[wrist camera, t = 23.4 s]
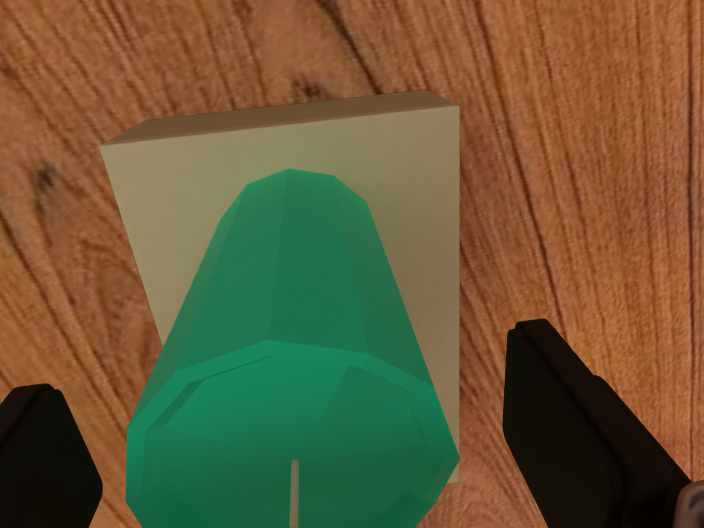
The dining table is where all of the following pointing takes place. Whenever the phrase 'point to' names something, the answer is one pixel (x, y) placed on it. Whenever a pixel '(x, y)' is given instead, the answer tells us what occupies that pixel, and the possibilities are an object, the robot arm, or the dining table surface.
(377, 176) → the beige rectangular block
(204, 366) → the candle
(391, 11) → the dining table surface
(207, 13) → the dining table surface
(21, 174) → the dining table surface
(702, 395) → the dining table surface
